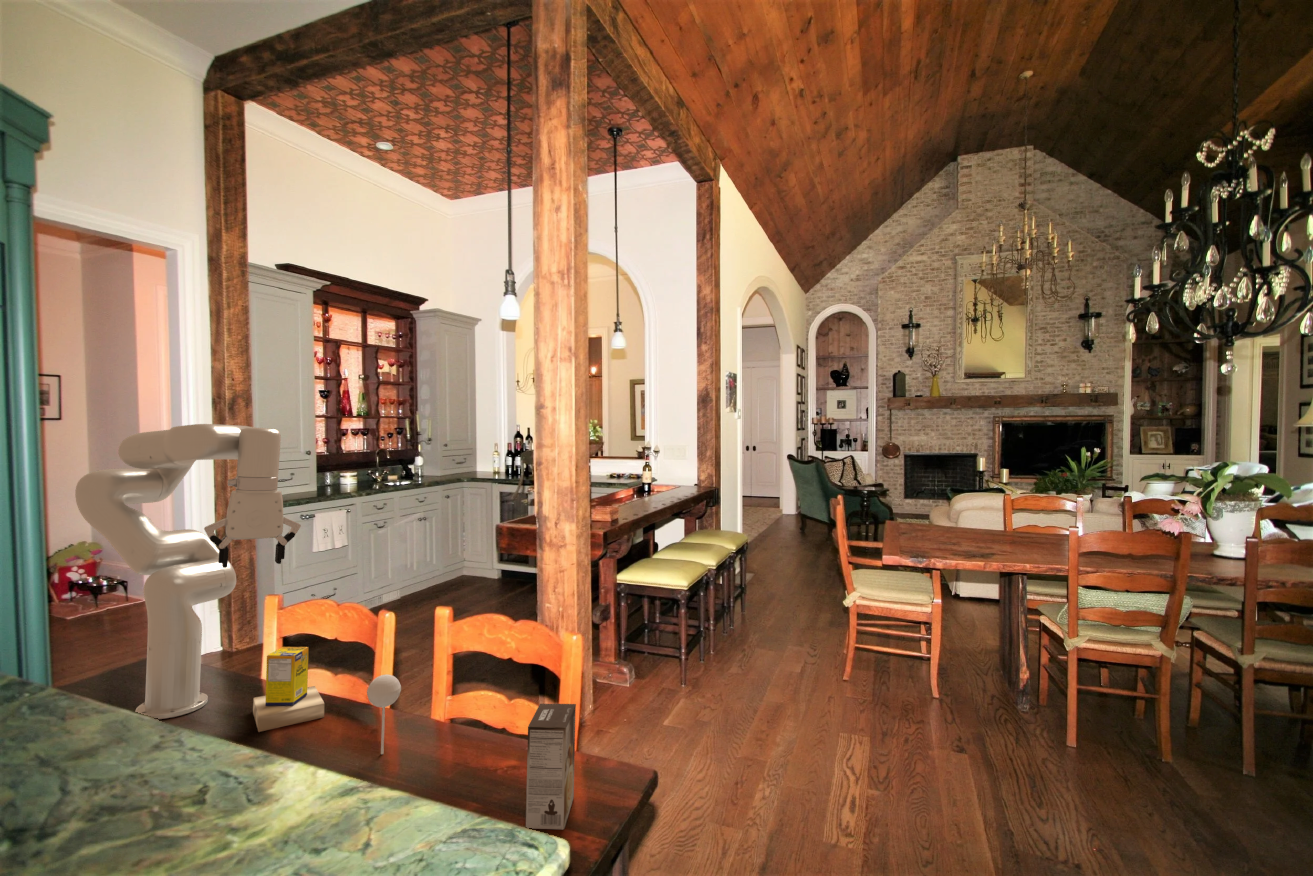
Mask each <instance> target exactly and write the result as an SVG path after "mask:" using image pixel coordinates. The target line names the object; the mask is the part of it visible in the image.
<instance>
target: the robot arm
mask: <svg viewBox="0 0 1313 876" xmlns="http://www.w3.org/2000/svg"><path fill="white" fill-rule="evenodd" d="M117 450H118V451H117V453H118V457H119V458H120V460H121V461H122V463H124V464H126V465H127V466H129V467H132V468H126V467H125V468H122V467H121V468H104V469H100V470H96V471H91V472H89V473H87V474H85V475H83V476H82V477H80V479H79V480H78V481H77V483H76V486H75V493H74V496H75V497H74V498H75V503H76V507H77V509H78V511H79V513H80V514H81V516H82V517H83V519H84V520H85V521H86V523H88V524H89V525H90V526H91V527H92V528H93V529H95V530H96V532H98V533H100V535H102V536H103V537H104V538H105V539H106V540H107V541H108V542H109V544H110V545H111V546H112V547H113V549H114V550H115V551H116V552H117V554H118V555H119V556H120V557H121V558H122V560H123V561H124V562H125V564H126V565H127V566H128V567H129V568H130V569H131V570H132V571H133V572H134V573H136V574H137V575H141V576H148V577H147V578H146V580H145V582H144V584H143V590H142V591H143V598H144V603H145V608H146V615H147V644H146V645H147V646H146V647H147V648H146V649H147V650H146V668H145V669H146V671H145V673H146V675H145V695H144V696H145V697H144V699H145V700H144V702H142V703H141V704H139V705H138V706H137V707H136V709H135V711H134V712H138V713H141V714H144V715H148V716H151V717H154V718H158V719H157V720H162V719H169V718H170V719H171V718H175V717H180V716H183V715H186V714H190V713H192V712H194V711H197V710H199V709H201V708H202V707H204V706H205V705H207V703H208V701H209V700H208V697H209V696H208V694H206V693H204V692H200V691H201V669H202V667H201V666H202V665H201V664H202V641H203V627H202V626H203V624H202V620H201V619H200V617H199V616H198V614H197V612H195V610H194V609H193V606H196V605H198V604H203V603H207V602H210V601H211V602H212V601H215V600H218V599H221V598H225V597H226V596H228V595H230V594H231V593H232V592H233V590H234V589H235V588H236V585H237V574H236V571H235V569H234V566H233V565H232V563H230V561H229V548H228V546H229V544H230V543H232V542H233V540H235V541H236V540H237V541H238V540H259V539H276V541H277V543H276V544H275V552H274V553H275V554H274V555H275V556H274V563H276V564H278V565H281V564H282V560H284V559H285V554H286V552H285V551H286V545H287V544H288V543H289V542H290V541H291V540H292V539H294V538H295V536H296V534H297V533H298V532H299V530H300V528H301V527H302V526H301V524H300V523H298V522H296V521H293V520H292V519H289V518H287V517H284V501H283V500H284V499H283V494H282V491H280V490H278V485H279V484H278V483H279V467H280V456H281V454H280V453H281V452H280V451H281V432H280V431H279V430H278V429H276V428H268V427H254V426H248V425H232V424H218V423H196V424H187V425H177V426H172V427H171V428H170V429H162V430H154V431H144V432H138V433H133V434H131V435H129V436H127V437H126V438H125V439H123V440H122V441H121V442H120V444H119V446H118V449H117ZM203 460H204V461H205V460H206V461H207V460H208V461H209V460H211V461H212V460H237V463H236V464H237V465H236V467H237V468H236V476H235V477H234V478H232V479H227V486H229V487H231V486H232V487H234V488H235V490H232V491H231V493H230V497H229V502H228V504H227V509H226V510H227V511H226V516H225V517H224V518H223V519H220V520H218V521H215V522H214V523H211V524H208V525H205V526H204V528H203V530H204V532H205V533H206V534H204V533H203V532H201V531H199V530H196V529H190V528H188V529H175V530H162V529H161V528H159V527H158V526H156V524H154V522H153V521H152V519H151V518H149V516H147V515H146V514H145V513H143V512H141V511H139V510H138V509H135V508H132V507H131V506H128V505H135V504H136V505H137V504H150V503H152V504H153V503H158V502H161V501H163V500H166V499H167V498H169V497H170V495H172V494H173V493H174V491H176V488H177V487H178V486H179V484H180V483H181V482H182V481H183V479H184V477H186V475H187V474H188V472H189V471H190V470H191V468H192V467H193V465H194V464H195V462H196V461H203ZM284 525H286V526H288V527H290V529H289V532H287V533H286V534H285V535H284V536H283V533H284ZM222 527H224V532H225V535H224V536H223V537H222V538H219V536H217V535H216V533H215V531H216V530H218V529H220V528H222Z"/></svg>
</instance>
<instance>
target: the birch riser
mask: <svg viewBox="0 0 1313 876" xmlns="http://www.w3.org/2000/svg"><path fill="white" fill-rule="evenodd" d="M252 702H253V703H252V715H253V717H254V721H255V724H256V728H257V732H258V733H260V732H264V731H269V730H275V729H279V728H282V727H287V726H292V725H296V724H301V723H303V722H304V723H305V722H310V721H314V720H318V719H322V718H323V719H324V718H325V702H324V700H323V698H322V696H321V695H320V692H319V691H318V689H317V687H316V685H313V686H309V687H308V686H307V695H306V696H305V697H304V698H303V699H301V700H300V701H299V702H297V703H296V704H295V705H293V706H266V695H261V696H256V697H253V699H252Z"/></svg>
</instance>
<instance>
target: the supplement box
mask: <svg viewBox="0 0 1313 876" xmlns="http://www.w3.org/2000/svg"><path fill="white" fill-rule="evenodd" d="M308 670H309V646H281V647H280V648H278V649H276V650H274V651H272V652H271V653H268V654H267V656H266V673H265V674H266V675H265V677H266V678H265V679H266V680H265V696H266V706H293V705H295V704H296V703H297V702H299V701H300V700H301V699H303V698H304V697H305V696H306V695H307V687H308V680H309V679H308V677H309V671H308Z"/></svg>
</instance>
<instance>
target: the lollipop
mask: <svg viewBox="0 0 1313 876" xmlns="http://www.w3.org/2000/svg"><path fill="white" fill-rule="evenodd" d="M401 691H402V685H401V683H400V681H399V679H398V678H397V677H396V676H394V675H393V674H381V675H378V676H377V677H375V678H374V679H373V680H372V681H371V682H370V683H369V685H368V687H367V691H366V694H367V699H368V701H369V703H370V704H372V706H374V707H377V708H381V709H382V711H381V736H380V737H381V740H380V741H381V743H380V744H381V745H380V755H384V752H385V751H384V750H385V749H384V748H385V746H384V745H385V743H384V742H385V718H386V716H385V714H386V711H385V710H386V707H389V706H391V705H393V704H395V702H396V701H397V700H398V698H399V697H400V694H401Z"/></svg>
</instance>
